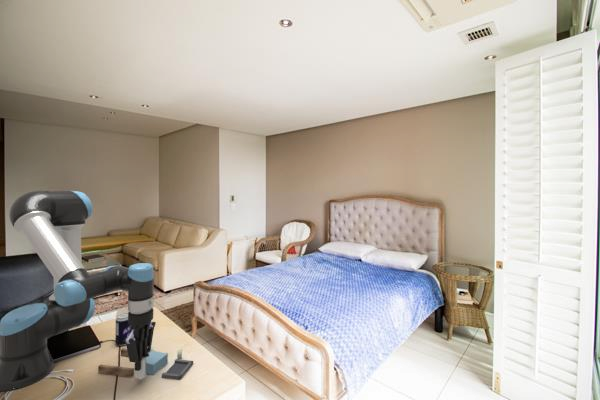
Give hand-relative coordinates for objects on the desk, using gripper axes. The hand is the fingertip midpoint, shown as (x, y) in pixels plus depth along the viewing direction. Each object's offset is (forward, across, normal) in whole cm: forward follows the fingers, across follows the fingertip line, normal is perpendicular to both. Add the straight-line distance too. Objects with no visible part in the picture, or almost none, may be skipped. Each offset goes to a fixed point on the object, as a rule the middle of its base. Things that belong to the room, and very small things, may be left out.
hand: (140, 377), depth 95 cm
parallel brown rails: (+2, +7, +11) cm, 13 cm away
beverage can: (+2, +20, +23) cm, 31 cm away
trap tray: (+2, +8, -9) cm, 12 cm away
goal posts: (+2, +14, 0) cm, 14 cm away
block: (+2, +8, +1) cm, 8 cm away
